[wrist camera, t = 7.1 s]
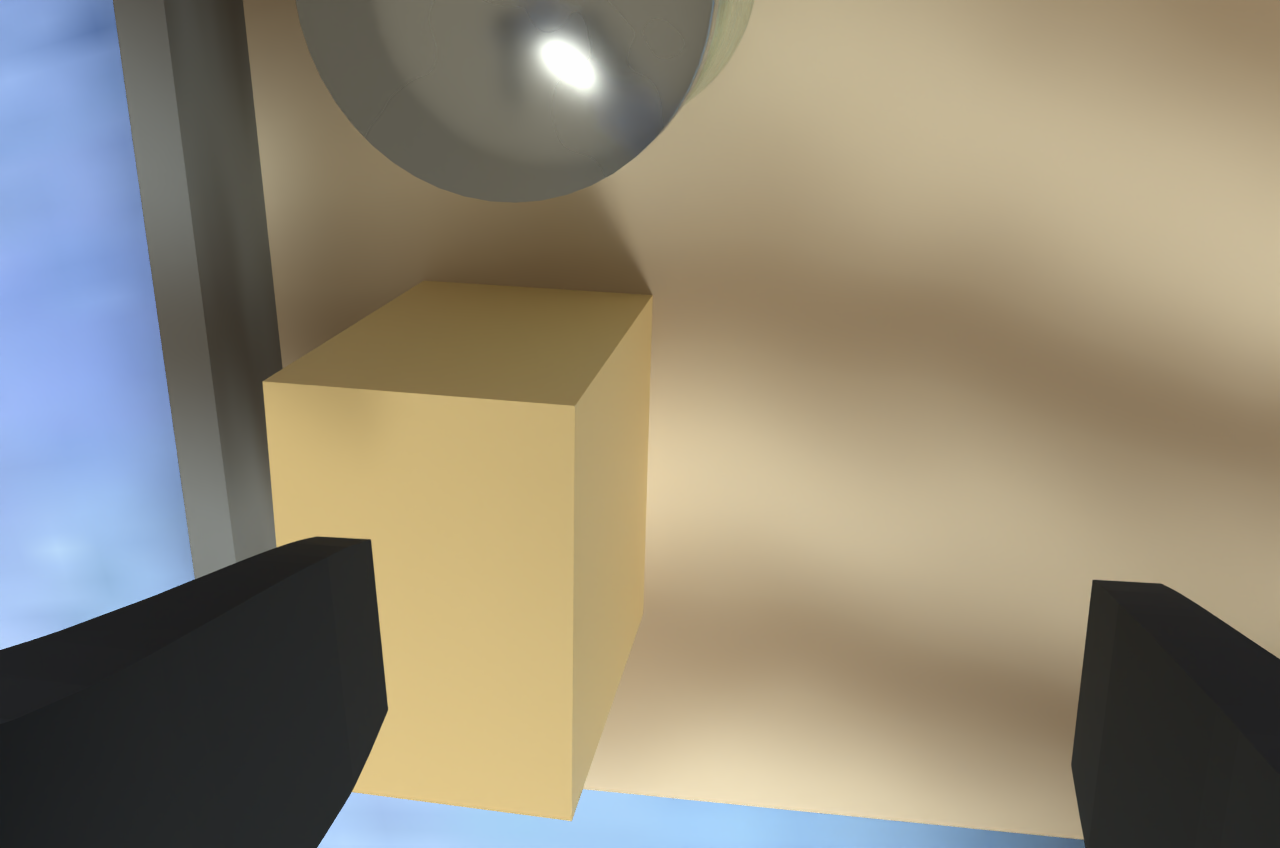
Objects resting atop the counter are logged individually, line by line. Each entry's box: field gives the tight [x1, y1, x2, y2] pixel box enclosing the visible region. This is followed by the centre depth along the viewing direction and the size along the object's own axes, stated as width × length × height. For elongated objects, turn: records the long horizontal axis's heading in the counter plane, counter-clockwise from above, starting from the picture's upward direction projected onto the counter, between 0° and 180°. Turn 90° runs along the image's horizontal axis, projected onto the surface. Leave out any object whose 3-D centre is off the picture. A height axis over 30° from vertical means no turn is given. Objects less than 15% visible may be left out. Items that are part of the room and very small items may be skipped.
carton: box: [262, 281, 653, 821], centre depth 18 cm, size 6×4×6 cm, turn 179°
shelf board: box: [113, 0, 1280, 840], centre depth 19 cm, size 18×22×4 cm
